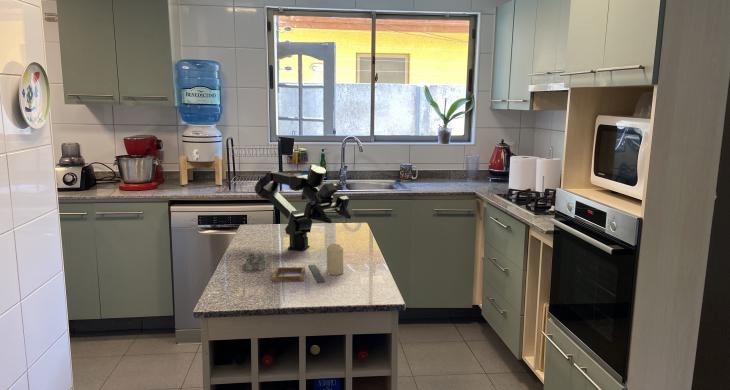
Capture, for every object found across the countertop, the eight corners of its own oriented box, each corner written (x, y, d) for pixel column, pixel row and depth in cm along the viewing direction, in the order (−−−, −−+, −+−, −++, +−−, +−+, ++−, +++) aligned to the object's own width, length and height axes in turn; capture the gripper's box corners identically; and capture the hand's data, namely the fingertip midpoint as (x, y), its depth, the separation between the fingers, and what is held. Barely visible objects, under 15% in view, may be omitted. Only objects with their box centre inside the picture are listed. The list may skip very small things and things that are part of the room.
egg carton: (247, 262, 188) (247, 251, 187) (268, 261, 189) (267, 250, 188) (243, 271, 178) (242, 259, 177) (265, 270, 178) (265, 259, 178)
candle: (345, 270, 177) (345, 242, 176) (339, 275, 172) (339, 247, 171) (330, 269, 179) (330, 241, 177) (324, 274, 174) (324, 245, 172)
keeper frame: (276, 271, 176) (276, 267, 176) (305, 271, 177) (305, 267, 177) (272, 281, 167) (272, 277, 166) (303, 281, 167) (303, 276, 167)
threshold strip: (325, 282, 166) (325, 281, 166) (317, 283, 165) (317, 281, 165) (315, 265, 183) (315, 264, 183) (308, 266, 182) (308, 265, 182)
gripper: (301, 180, 182) (326, 205, 174) (340, 175, 195) (366, 198, 187) (293, 206, 188) (318, 231, 179) (332, 199, 200) (357, 222, 192)
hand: (340, 220), depth 184 cm, fingers open, 9 cm apart
